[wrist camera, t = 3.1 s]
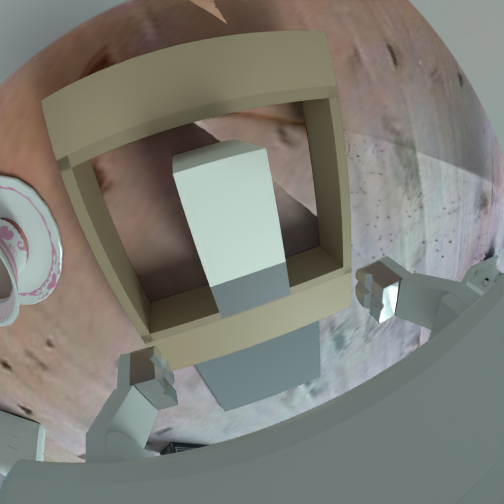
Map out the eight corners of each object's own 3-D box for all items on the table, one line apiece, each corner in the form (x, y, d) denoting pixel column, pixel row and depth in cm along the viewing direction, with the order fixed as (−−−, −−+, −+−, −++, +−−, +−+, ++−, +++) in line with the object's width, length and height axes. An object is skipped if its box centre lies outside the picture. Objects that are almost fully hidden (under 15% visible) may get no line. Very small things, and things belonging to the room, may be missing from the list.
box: (233, 138, 18) (265, 148, 12) (257, 246, 23) (290, 294, 17) (172, 156, 18) (172, 173, 12) (205, 263, 22) (221, 318, 16)
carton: (298, 43, 16) (325, 31, 12) (329, 283, 27) (350, 306, 24) (64, 102, 13) (41, 100, 10) (163, 341, 25) (165, 372, 21)
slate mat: (315, 308, 28) (318, 312, 28) (318, 373, 35) (320, 376, 34) (189, 353, 26) (190, 357, 26) (224, 407, 33) (224, 411, 32)
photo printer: (42, 422, 26) (37, 486, 16) (48, 433, 28) (45, 493, 17) (-6, 405, 22) (-17, 464, 12) (2, 417, 24) (-6, 473, 13)
